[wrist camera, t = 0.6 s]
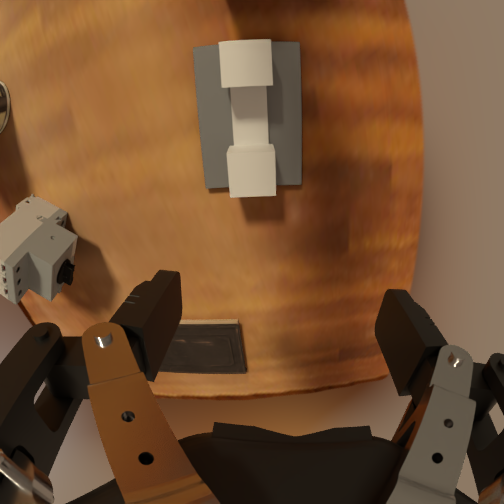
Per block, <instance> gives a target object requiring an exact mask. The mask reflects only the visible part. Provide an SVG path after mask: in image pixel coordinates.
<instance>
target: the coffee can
mask: <svg viewBox="0 0 504 504" xmlns="http://www.w3.org/2000/svg"><path fill="white" fill-rule="evenodd" d="M9 112H10V97H9V92H8V89H7V87H6V85H5V84H4V83H3V82H2V81H0V133H1V132H2V131H3V129H4V128H5V126H6V124H7V121H8V117H9Z"/></svg>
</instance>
